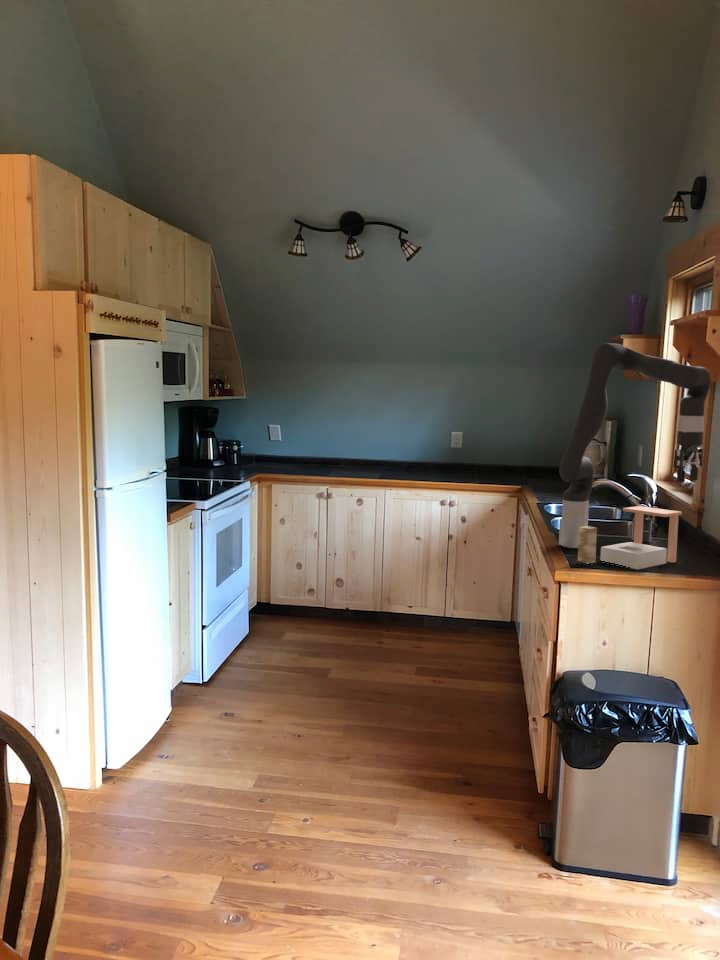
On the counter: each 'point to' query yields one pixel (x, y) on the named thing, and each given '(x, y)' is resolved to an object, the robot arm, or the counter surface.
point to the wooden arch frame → (672, 514)
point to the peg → (587, 544)
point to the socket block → (634, 555)
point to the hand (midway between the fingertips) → (687, 481)
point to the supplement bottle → (644, 528)
